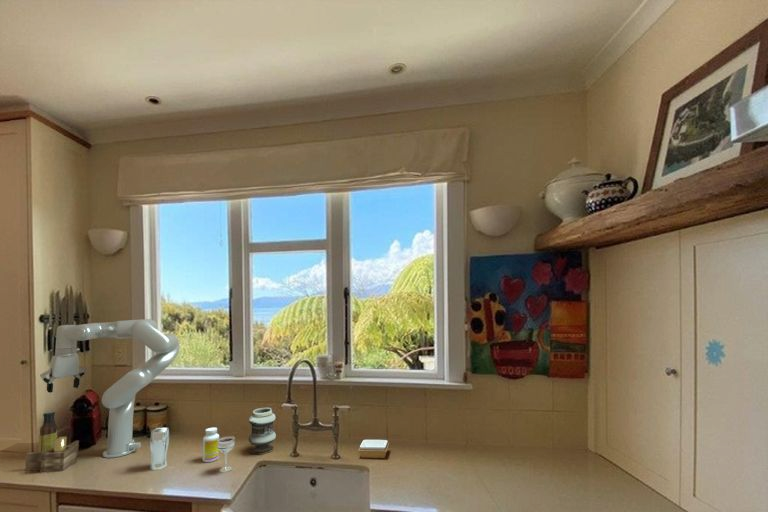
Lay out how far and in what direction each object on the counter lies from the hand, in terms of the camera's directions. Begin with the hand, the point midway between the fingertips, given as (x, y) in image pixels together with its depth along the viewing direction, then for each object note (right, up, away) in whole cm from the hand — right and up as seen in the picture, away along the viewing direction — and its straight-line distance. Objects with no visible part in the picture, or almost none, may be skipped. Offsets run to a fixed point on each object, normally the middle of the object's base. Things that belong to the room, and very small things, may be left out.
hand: (63, 389), depth 175 cm
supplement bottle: (+71, -28, -8) cm, 77 cm away
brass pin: (+8, -29, -12) cm, 32 cm away
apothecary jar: (+91, -29, +2) cm, 96 cm away
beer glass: (+52, -28, -14) cm, 61 cm away
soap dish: (+143, -27, -6) cm, 146 cm away
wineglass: (+82, -27, -18) cm, 88 cm away
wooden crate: (+4, -29, -9) cm, 31 cm away
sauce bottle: (-7, -31, -1) cm, 32 cm away
